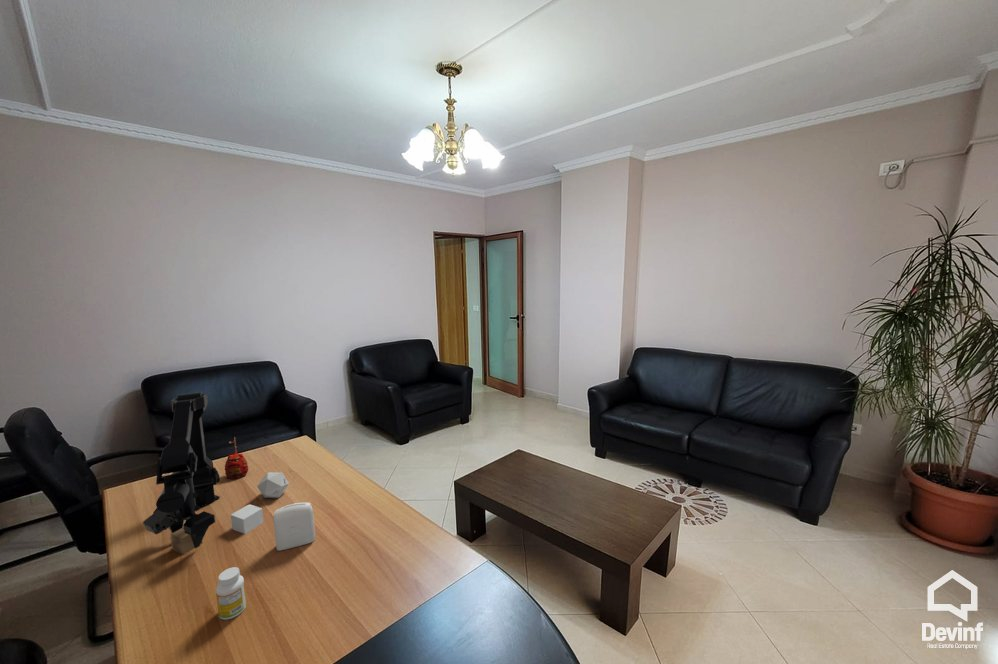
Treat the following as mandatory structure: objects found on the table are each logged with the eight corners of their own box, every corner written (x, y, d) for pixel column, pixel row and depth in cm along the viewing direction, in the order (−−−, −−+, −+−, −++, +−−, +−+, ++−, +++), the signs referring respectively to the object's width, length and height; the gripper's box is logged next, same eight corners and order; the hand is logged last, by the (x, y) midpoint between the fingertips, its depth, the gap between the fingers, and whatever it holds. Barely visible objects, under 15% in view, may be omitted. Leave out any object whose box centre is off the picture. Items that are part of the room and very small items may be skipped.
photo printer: (274, 553, 108) (271, 513, 106) (276, 543, 112) (273, 505, 110) (315, 543, 112) (312, 504, 110) (315, 534, 116) (312, 497, 114)
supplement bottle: (228, 601, 92) (223, 565, 90) (251, 599, 92) (247, 564, 91) (213, 621, 86) (208, 583, 85) (238, 619, 87) (234, 581, 86)
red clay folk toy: (223, 481, 145) (219, 444, 143) (228, 473, 152) (224, 437, 149) (247, 477, 148) (243, 441, 146) (250, 469, 155) (247, 434, 152)
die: (267, 507, 130) (285, 481, 132) (246, 493, 131) (265, 467, 133) (280, 502, 139) (298, 477, 140) (261, 488, 139) (278, 464, 141)
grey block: (232, 529, 118) (230, 514, 117) (251, 518, 124) (249, 504, 123) (245, 534, 116) (243, 519, 115) (263, 522, 121) (262, 508, 121)
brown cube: (172, 549, 109) (170, 534, 108) (192, 538, 114) (190, 523, 113) (183, 554, 107) (181, 538, 106) (202, 543, 112) (200, 528, 111)
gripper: (126, 501, 104) (134, 552, 106) (167, 517, 97) (174, 572, 99) (174, 481, 114) (180, 528, 117) (213, 494, 107) (219, 544, 110)
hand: (187, 542), depth 110 cm, fingers open, 9 cm apart
